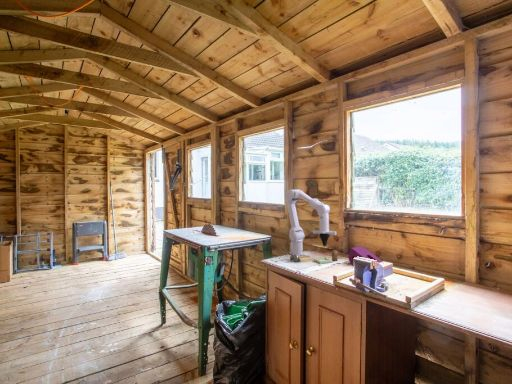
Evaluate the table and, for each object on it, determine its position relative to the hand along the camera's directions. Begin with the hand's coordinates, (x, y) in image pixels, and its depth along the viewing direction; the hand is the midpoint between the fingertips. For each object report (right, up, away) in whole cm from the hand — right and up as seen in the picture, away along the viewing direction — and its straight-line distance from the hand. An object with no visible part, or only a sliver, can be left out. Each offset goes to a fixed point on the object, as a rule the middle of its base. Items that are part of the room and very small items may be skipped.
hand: (324, 245), depth 182 cm
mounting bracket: (+21, -9, -15) cm, 27 cm away
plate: (-13, -9, +1) cm, 16 cm away
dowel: (+6, -9, -3) cm, 10 cm away
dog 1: (-20, -9, +2) cm, 22 cm away
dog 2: (-18, -9, -3) cm, 21 cm away
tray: (-2, -9, -5) cm, 10 cm away
